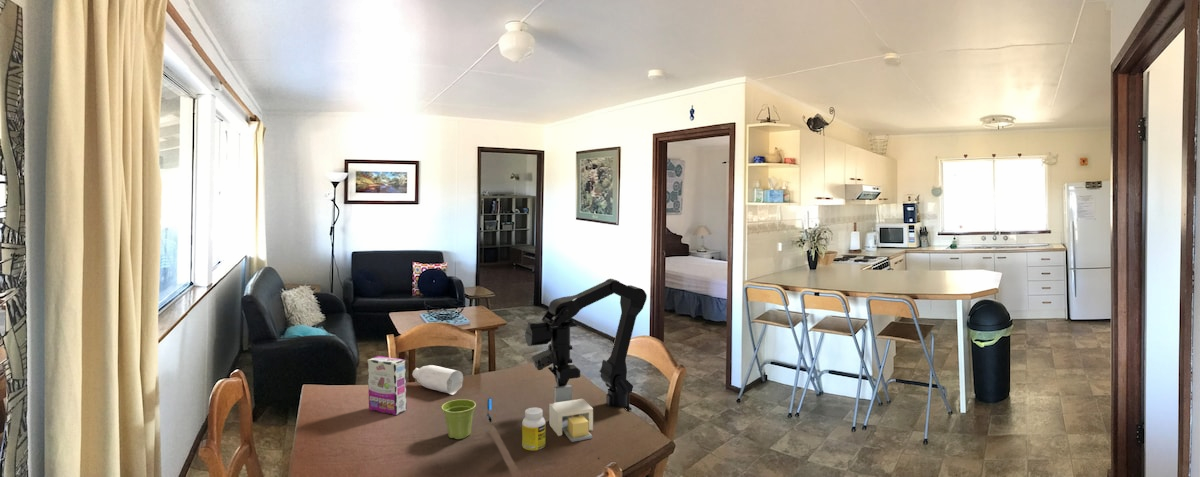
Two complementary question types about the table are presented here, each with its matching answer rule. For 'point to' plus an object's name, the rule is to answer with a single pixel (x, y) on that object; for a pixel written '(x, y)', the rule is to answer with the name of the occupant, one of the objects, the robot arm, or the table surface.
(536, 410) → the pill bottle
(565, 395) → the bracket
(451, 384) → the white plastic bottle
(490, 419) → the pen
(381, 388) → the candy bar box
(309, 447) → the table surface
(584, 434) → the block
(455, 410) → the plant pot
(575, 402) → the tunnel
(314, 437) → the table surface
